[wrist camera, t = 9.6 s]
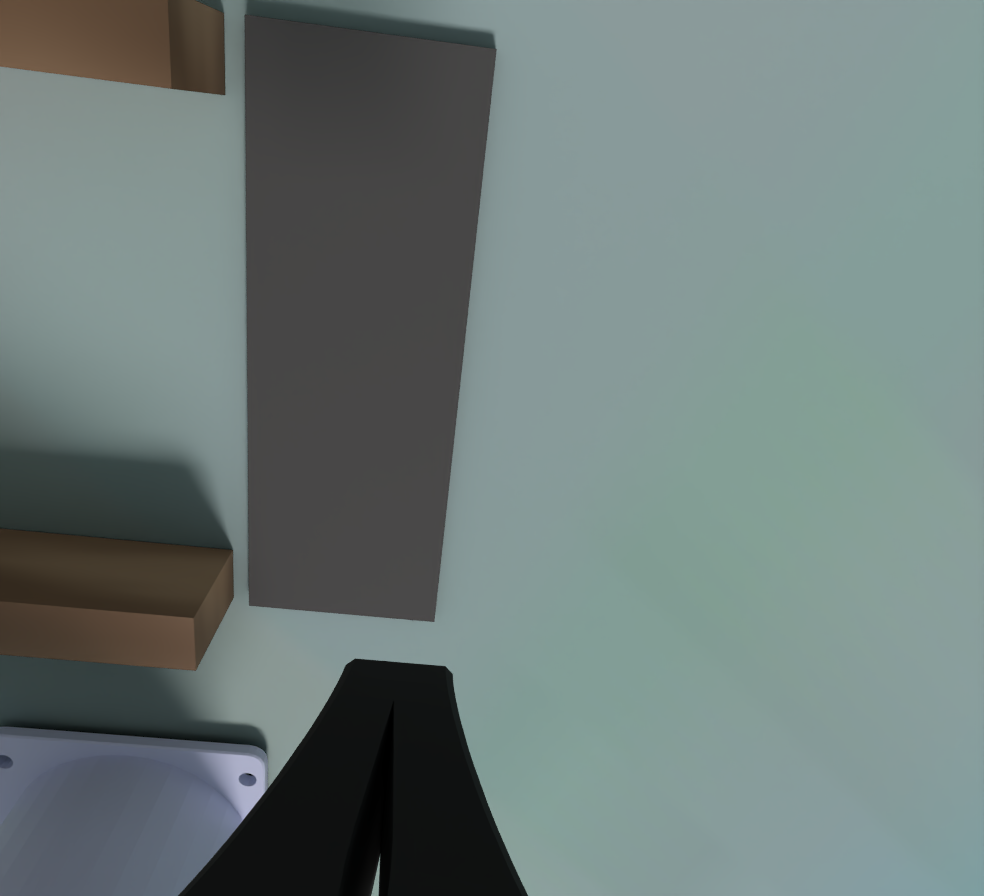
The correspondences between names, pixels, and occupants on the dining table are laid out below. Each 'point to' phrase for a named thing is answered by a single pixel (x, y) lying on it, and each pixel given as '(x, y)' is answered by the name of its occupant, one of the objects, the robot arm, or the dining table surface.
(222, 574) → the channel
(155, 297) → the dining table surface
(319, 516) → the pad
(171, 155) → the dining table surface
